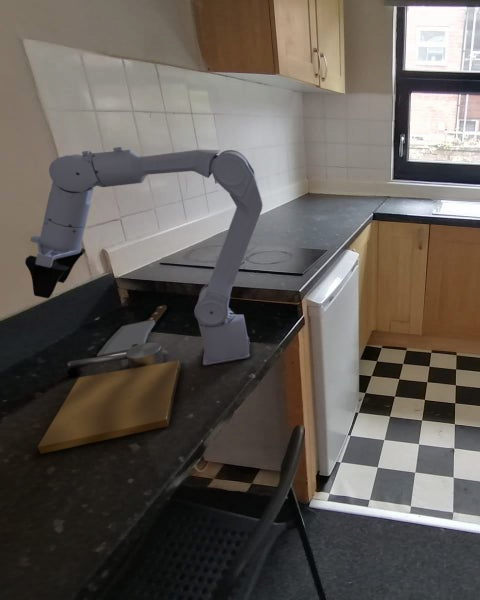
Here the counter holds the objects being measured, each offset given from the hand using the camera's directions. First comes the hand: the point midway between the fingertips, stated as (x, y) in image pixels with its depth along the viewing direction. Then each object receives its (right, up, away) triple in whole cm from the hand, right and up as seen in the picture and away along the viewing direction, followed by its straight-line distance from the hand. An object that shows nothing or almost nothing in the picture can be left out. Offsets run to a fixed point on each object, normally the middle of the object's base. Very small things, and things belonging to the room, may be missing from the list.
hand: (50, 288), depth 75 cm
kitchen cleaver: (0, -10, +26) cm, 28 cm away
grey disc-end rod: (+5, -17, +11) cm, 20 cm away
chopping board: (+14, -21, 0) cm, 25 cm away
